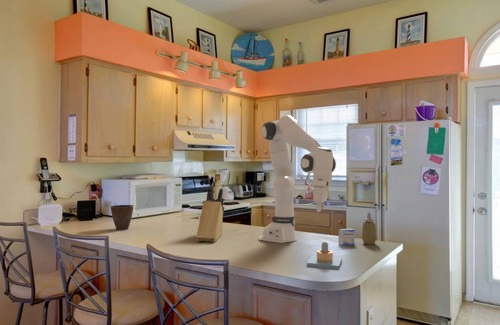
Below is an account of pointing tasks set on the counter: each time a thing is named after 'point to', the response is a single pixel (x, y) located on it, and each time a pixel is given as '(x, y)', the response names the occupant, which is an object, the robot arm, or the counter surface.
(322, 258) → the copper ring
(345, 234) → the medicine box
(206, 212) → the knife block
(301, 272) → the counter surface
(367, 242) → the squeeze bottle
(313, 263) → the post base
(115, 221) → the plant pot
